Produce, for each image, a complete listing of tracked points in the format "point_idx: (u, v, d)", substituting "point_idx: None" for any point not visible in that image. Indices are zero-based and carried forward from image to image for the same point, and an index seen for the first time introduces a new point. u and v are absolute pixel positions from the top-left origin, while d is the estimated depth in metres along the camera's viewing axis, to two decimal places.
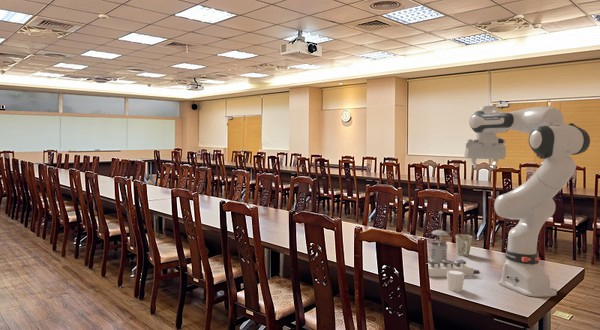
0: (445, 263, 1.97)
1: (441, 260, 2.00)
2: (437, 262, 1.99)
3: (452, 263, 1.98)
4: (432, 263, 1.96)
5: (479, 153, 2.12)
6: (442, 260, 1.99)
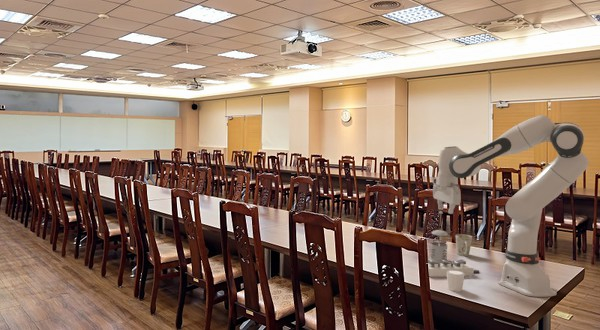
0: (445, 263, 1.97)
1: (441, 260, 2.00)
2: (437, 262, 1.99)
3: (452, 263, 1.98)
4: (432, 263, 1.96)
5: None
6: (442, 260, 1.99)
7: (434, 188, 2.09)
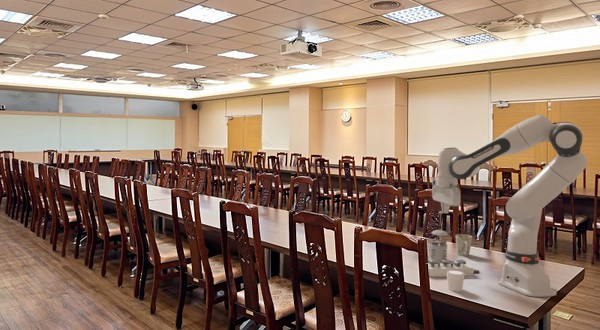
0: (445, 263, 1.97)
1: (441, 260, 2.00)
2: (437, 262, 1.99)
3: (452, 263, 1.98)
4: (432, 263, 1.96)
5: None
6: (442, 260, 1.99)
7: (433, 189, 2.09)
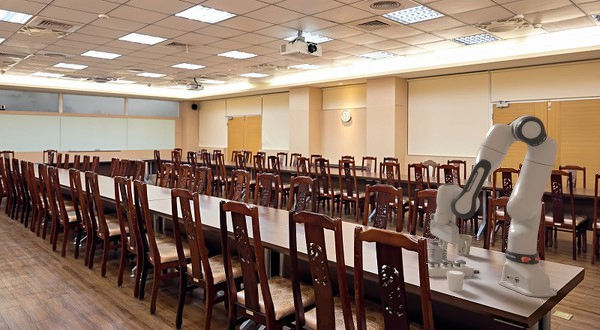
0: (445, 263, 1.97)
1: (441, 260, 2.00)
2: (437, 262, 1.99)
3: (452, 263, 1.98)
4: (432, 263, 1.96)
5: None
6: (442, 260, 1.99)
7: (431, 224, 2.06)
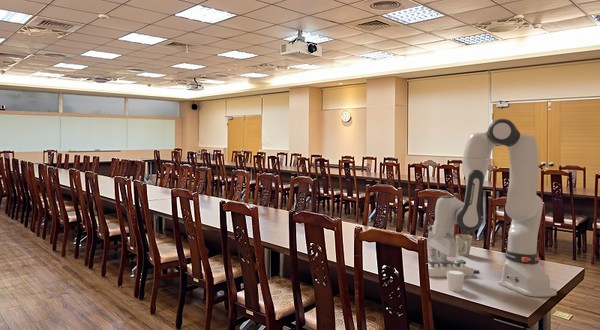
0: (445, 264, 1.97)
1: None
2: (437, 262, 1.99)
3: (452, 262, 1.98)
4: (432, 263, 1.96)
5: None
6: None
7: (429, 235, 2.06)
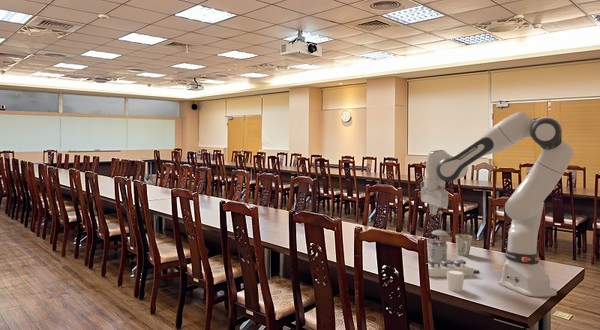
0: (445, 264, 1.97)
1: (440, 262, 2.00)
2: (437, 262, 1.99)
3: (452, 262, 1.98)
4: (432, 263, 1.96)
5: None
6: (441, 262, 1.99)
7: (422, 191, 2.12)
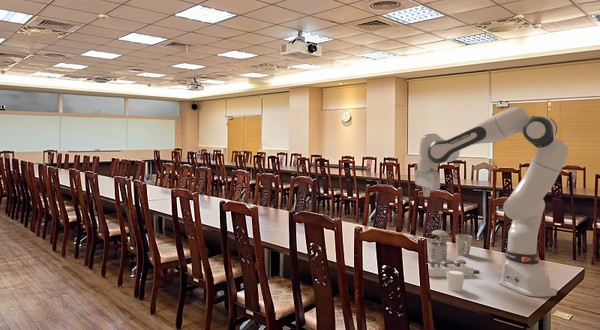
0: (445, 265, 1.97)
1: (440, 262, 2.00)
2: (437, 262, 1.99)
3: (451, 261, 1.98)
4: (432, 263, 1.96)
5: None
6: (441, 262, 1.99)
7: (416, 175, 2.17)
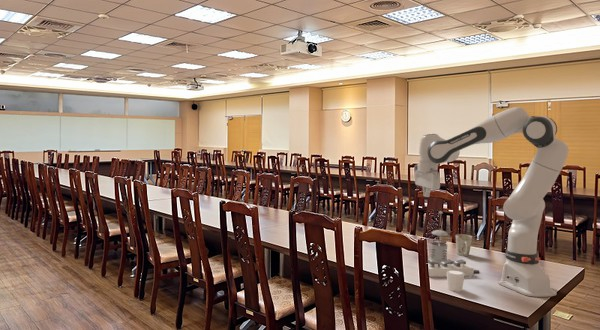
0: (445, 265, 1.97)
1: (440, 263, 2.00)
2: (437, 262, 1.99)
3: (451, 261, 1.98)
4: (432, 263, 1.96)
5: None
6: (441, 262, 1.99)
7: (416, 175, 2.17)
